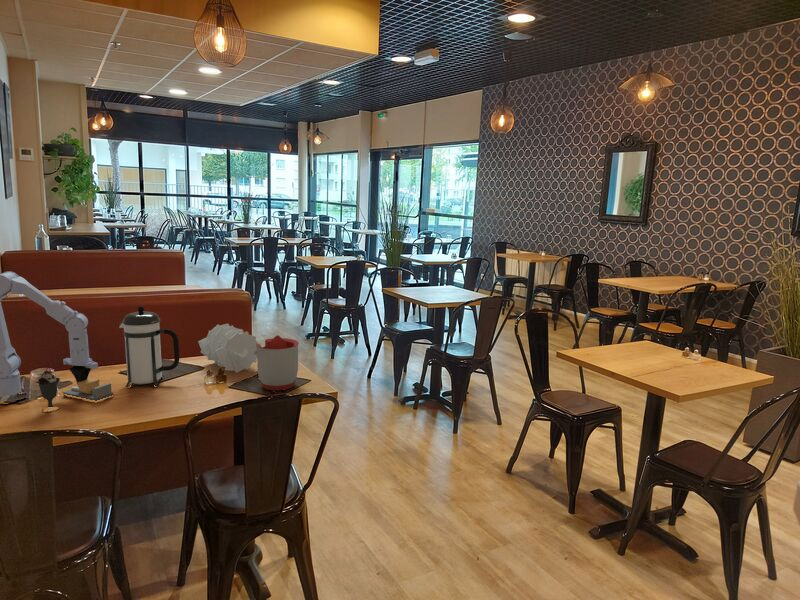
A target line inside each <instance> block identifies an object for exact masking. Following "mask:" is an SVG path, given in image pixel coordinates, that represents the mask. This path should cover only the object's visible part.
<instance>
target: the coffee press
mask: <svg viewBox="0 0 800 600" xmlns="http://www.w3.org/2000/svg"><path fill="white" fill-rule="evenodd" d="M160 322H161V317H159V315H158V314H157V313H156V312H152V311H145V308H144V306H143V305H139V306H138V307H137V311H135V312H134V311H133V312H130V313H127V314H126V315H125V316H124V318H123V319H122V322H121V323H120V325H119V329H121V328H122V329H123V336H124V345H125V346H124V347H125V359H126V374H127V375H126V376H127V382H126V384H125V388H126V387H129V386H130V385H131V386H132V387H134V385H147V384H151V385H152V386H153V387H154V385H155V386H158V387H159V386H160V385H159V381H160V380H162V379H161V377H162V376H163V377H164V375H163V372H164V371H167V372H168V371H171V370H173V369H175V368H176V369H177V366H178V365H179V363H180V345H179V343H180V342H179V341H180V340H179V337H178V334H177V333H176V332H175V330H172V329H169V328H164V329H161V327H160ZM161 334H165V335H170V337H171V338H172V342H173V356H174V357H173V358H174V360H173V363H172V364H171V365H163V364H162V348H161ZM164 378H165V377H164Z"/></svg>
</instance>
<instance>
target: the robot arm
mask: <svg viewBox="0 0 800 600" xmlns="http://www.w3.org/2000/svg"><path fill="white" fill-rule="evenodd" d="M9 293H10V295H23V296H25V297H26V298H28V299H29V300H31V301H33V302H34V303H36V304H38V305H39V306H41V307H42V308H44V309H45V313H46V315H48V316H49V317H51V318H53V319H54V320H55V321H57V322H58V323H60V324H62V325H64V327H65V330H66V331H67V332H68V343H69V344H68V345H69V354H70V355H69V356H70V357H66V358H63V359H62V360H63V365H70V366H72V367H69V371H70V372H71V374H72V375H73V377H74V379H75V381H76V384H77V385H78V382H81V381H84V380H87V379H89V378H88V377H89V376H90V375H89V374H90V372H91V370H92V371H93V370H96V369H99V363H98V362H96V361H93V358H90V349H89V338H88V329H87V327H88V324H89V319H88V317H87V316H86V315H85V314H84V313H81V312H78V311H77V310H74V309H72V308H71V307H69V306H68V305H66V304H67V302H65V301H60V300H57V299H56V300H52V299H51V298H50V297H48V296H47V295H46V294H44V293H43V292H42V291H41V290H39V289H38V288H37V287H35V286H34V285H32V284H31V283H30V282H29V281H27V279H25V278H24V277H22V276H19V274H17V273H16V272H14V271H4V272H2V273H0V397H3V396H6V395H15V394H17V393H19V392H21V393H22V386H21V385H22V384H21V383H22V382H21V375H20V373H21V372H20V371H19V368H20V367H21V364H22V360H21V357H20V356H19V355H18V354H17V352H16V349H15V348H14V347H13V346H12V343H11V338H10V335H9V331H8V326H7V323H6V318H5V314H4V310H3V306H2V302H1V301H2V300H4V298H5V297H6V296H7V295H8V294H9Z"/></svg>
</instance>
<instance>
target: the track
mask: <svg viewBox="0 0 800 600" xmlns="http://www.w3.org/2000/svg"><path fill="white" fill-rule="evenodd" d="M62 394H67V395H72V396H76V397H81V398H86V399H90V400H95V401H97V400H100V399H103V398H106V397H109V396H112V395H115V394H114V392H112V383H111V382H110V383H109V382H108V383H103V384H101V385H99V386H98V387H95V388H93V390H92V391H91V394H86V393H81V391H79V388H78V386H74V385H73V386H72V387H71V389H68V390H66V391H63V392H62Z"/></svg>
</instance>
